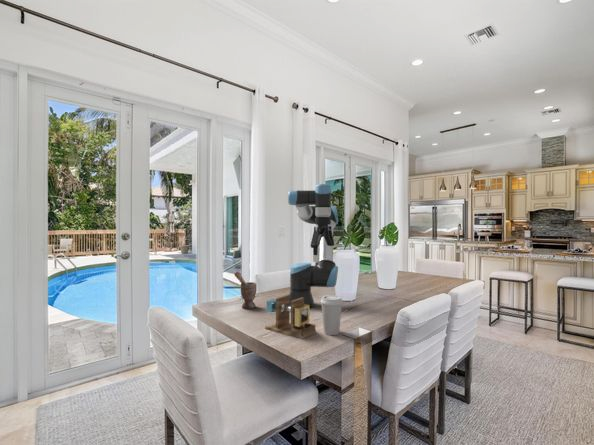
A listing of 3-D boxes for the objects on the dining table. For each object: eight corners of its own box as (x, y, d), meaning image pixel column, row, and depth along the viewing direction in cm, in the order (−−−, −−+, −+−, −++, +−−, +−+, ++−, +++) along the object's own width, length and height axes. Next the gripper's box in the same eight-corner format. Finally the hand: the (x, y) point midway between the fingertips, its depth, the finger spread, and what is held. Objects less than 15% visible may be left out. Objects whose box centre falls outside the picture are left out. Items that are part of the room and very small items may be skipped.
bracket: (265, 328, 137) (265, 296, 137) (279, 322, 145) (279, 292, 145) (302, 338, 125) (302, 304, 125) (315, 331, 133) (315, 299, 133)
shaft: (266, 311, 140) (266, 301, 140) (273, 309, 143) (273, 299, 143) (303, 319, 128) (303, 308, 128) (309, 317, 132) (309, 306, 132)
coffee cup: (318, 328, 137) (318, 294, 137) (340, 328, 138) (340, 294, 138) (322, 336, 127) (322, 300, 127) (345, 336, 128) (345, 299, 128)
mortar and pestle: (240, 311, 162) (240, 273, 162) (232, 307, 169) (232, 271, 169) (259, 307, 169) (259, 271, 169) (251, 304, 176) (251, 269, 176)
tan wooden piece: (294, 325, 129) (294, 307, 129) (304, 321, 135) (304, 304, 135) (299, 326, 127) (299, 308, 127) (309, 322, 133) (309, 305, 133)
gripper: (317, 216, 138) (317, 264, 138) (340, 216, 159) (340, 258, 159) (303, 216, 142) (302, 262, 142) (327, 216, 163) (327, 257, 163)
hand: (322, 260), depth 151 cm, fingers open, 13 cm apart
